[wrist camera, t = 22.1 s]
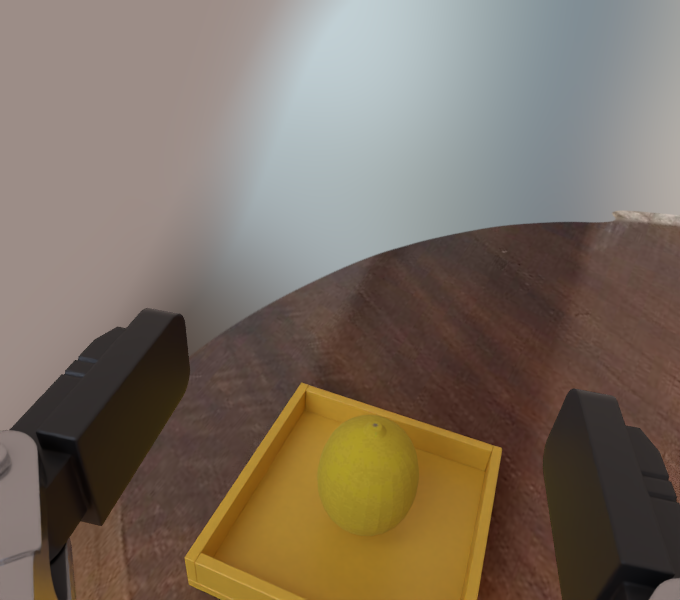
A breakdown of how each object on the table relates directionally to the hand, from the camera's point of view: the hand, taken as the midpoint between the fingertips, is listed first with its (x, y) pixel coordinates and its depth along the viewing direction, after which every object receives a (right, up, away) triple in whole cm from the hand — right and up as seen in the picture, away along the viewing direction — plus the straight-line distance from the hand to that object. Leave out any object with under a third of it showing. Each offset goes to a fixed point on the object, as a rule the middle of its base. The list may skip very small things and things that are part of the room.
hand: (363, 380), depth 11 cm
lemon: (+1, -11, +21) cm, 24 cm away
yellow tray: (+1, -12, +21) cm, 24 cm away
